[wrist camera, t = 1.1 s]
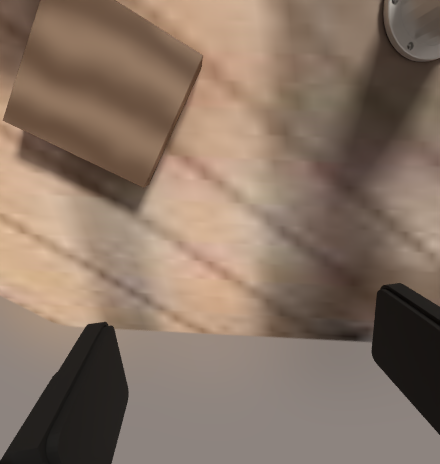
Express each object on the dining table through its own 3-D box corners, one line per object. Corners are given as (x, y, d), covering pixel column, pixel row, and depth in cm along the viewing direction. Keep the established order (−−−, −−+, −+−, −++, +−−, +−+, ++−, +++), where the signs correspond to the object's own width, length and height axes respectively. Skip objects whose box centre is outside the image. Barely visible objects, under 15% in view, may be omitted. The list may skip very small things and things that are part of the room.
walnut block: (70, -14, 29) (52, -39, 25) (201, 66, 33) (203, 55, 29) (24, 124, 32) (2, 120, 29) (148, 184, 36) (143, 187, 32)
